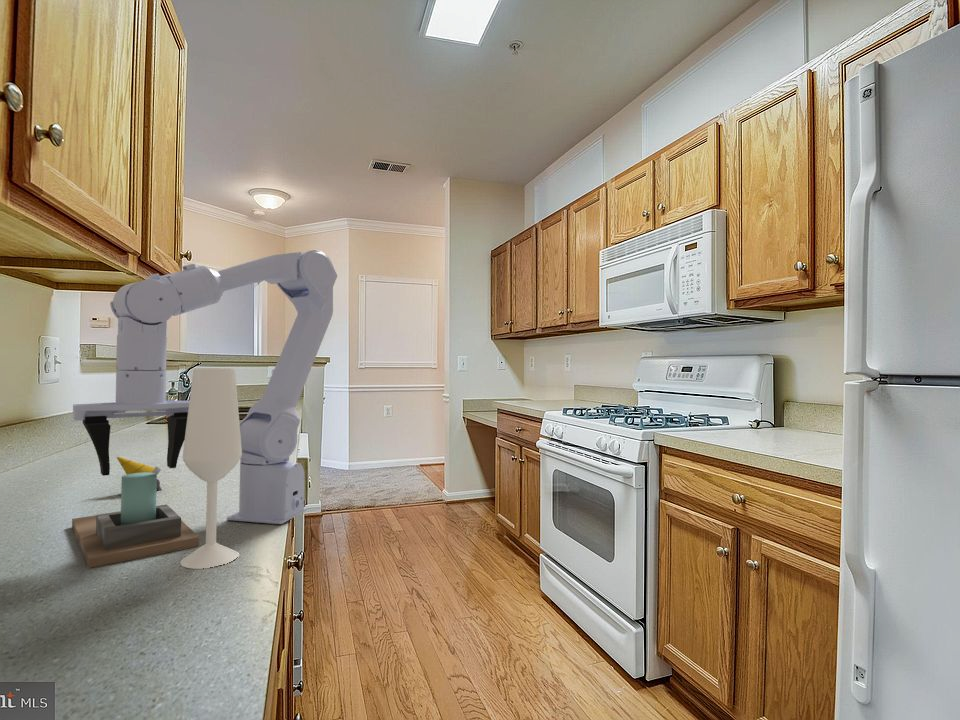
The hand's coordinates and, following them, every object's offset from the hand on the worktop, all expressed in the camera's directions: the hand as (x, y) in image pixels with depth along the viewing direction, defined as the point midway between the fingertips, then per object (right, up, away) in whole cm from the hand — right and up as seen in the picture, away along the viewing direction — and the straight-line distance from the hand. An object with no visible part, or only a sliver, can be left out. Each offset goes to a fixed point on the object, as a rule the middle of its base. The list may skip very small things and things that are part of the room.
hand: (139, 470), depth 71 cm
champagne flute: (+12, -10, -5) cm, 17 cm away
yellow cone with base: (-17, -10, +27) cm, 33 cm away
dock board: (-3, -10, +3) cm, 11 cm away
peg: (0, -9, 0) cm, 9 cm away
